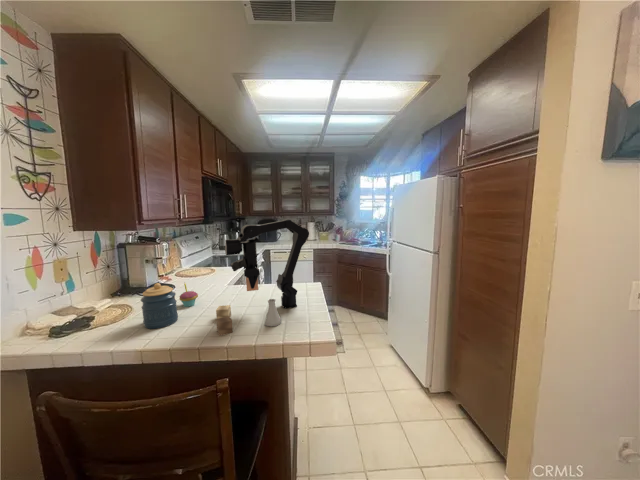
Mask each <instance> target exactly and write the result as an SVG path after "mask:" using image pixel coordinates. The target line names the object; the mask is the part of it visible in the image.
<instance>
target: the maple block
mask: <svg viewBox="0 0 640 480" xmlns="http://www.w3.org/2000/svg"><path fill="white" fill-rule="evenodd" d="M215 314H216V319H219V318H223V317H227V316H229V317H230V318H231V316H232V308H231V305H229V304H228V305H227V304H226V305H218V306H217V308H216V309H215Z"/></svg>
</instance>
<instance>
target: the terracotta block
mask: <svg viewBox="0 0 640 480" xmlns="http://www.w3.org/2000/svg"><path fill="white" fill-rule="evenodd" d="M258 278H259V277H258ZM258 278H257V281H256V284H255V286H254V288H253V289H251V285H250V282H249V279H248V278H247V277H245V284H246V286H245V287H246V292H252V291H259V279H258Z"/></svg>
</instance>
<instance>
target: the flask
mask: <svg viewBox="0 0 640 480" xmlns="http://www.w3.org/2000/svg"><path fill="white" fill-rule="evenodd" d="M267 303H268V309H267V314H266V317H265V320H264V326H266V327H277V326H279V325H280V324H282V318H281V317H280V315H279V312H278V309H277V306H276V299H275V298H269V299H268V300H267Z"/></svg>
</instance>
